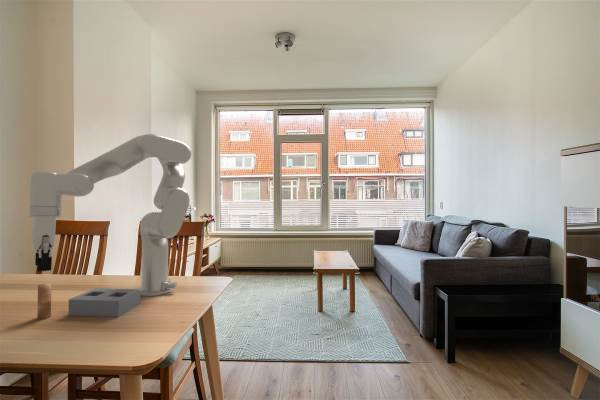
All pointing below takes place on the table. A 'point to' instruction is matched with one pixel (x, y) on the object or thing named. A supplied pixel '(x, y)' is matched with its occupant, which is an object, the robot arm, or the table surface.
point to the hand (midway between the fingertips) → (43, 267)
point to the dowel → (44, 301)
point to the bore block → (104, 302)
